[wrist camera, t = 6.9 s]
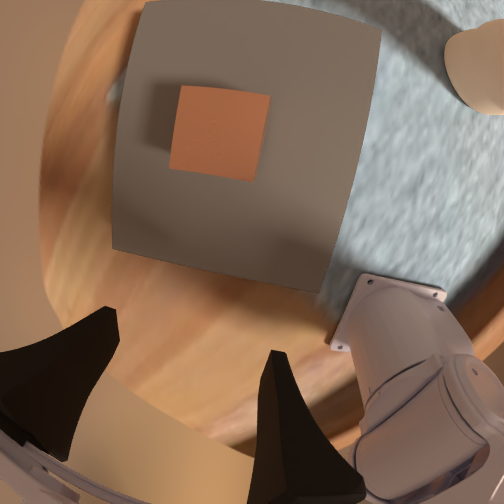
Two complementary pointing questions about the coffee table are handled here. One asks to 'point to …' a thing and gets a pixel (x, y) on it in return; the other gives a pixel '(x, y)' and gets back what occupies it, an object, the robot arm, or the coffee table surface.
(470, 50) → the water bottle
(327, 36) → the base
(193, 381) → the coffee table surface
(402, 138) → the coffee table surface
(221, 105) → the orange rectangular block
